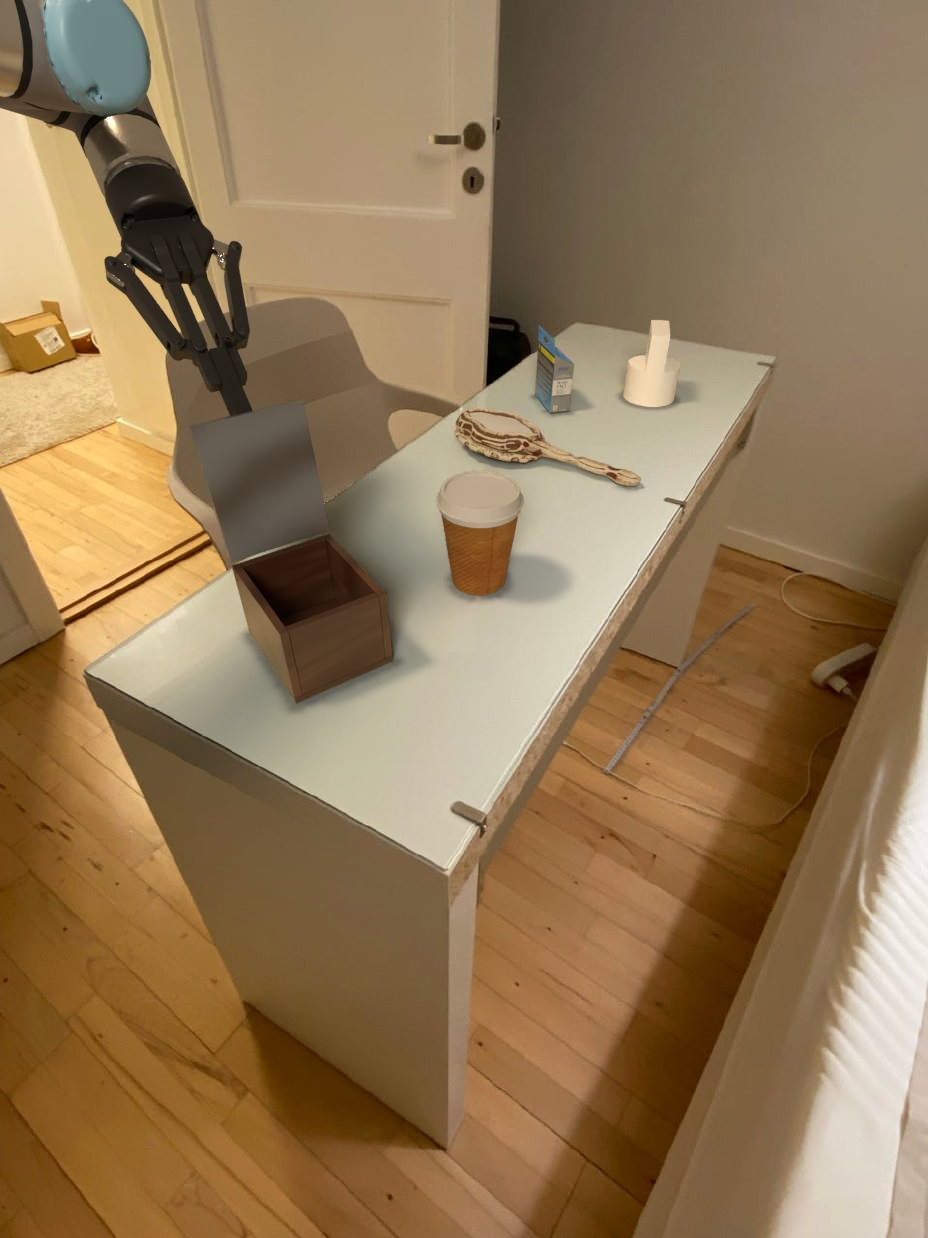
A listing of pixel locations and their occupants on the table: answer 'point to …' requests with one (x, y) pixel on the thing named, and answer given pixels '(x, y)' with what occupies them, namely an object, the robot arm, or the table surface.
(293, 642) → the box
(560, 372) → the ink cartridge box
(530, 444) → the hand mirror
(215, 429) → the lid
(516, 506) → the disposable coffee cup
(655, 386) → the cylinder with rectangular tab
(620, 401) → the table surface
